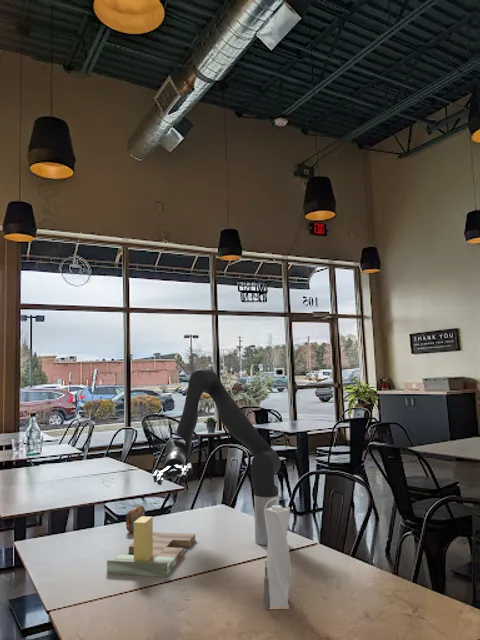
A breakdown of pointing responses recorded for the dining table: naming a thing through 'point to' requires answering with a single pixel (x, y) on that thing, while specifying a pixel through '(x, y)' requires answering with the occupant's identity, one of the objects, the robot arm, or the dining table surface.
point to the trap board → (154, 556)
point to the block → (143, 539)
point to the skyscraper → (277, 557)
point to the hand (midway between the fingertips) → (171, 480)
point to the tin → (134, 517)
